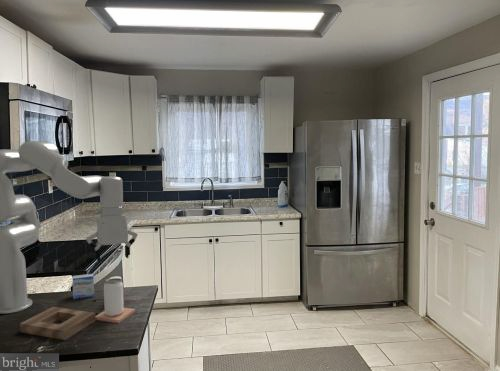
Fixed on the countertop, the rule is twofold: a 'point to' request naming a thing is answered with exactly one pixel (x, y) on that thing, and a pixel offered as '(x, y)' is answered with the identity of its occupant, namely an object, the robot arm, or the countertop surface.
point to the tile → (115, 319)
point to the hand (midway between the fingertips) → (112, 258)
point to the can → (113, 297)
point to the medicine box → (83, 286)
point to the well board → (44, 325)
